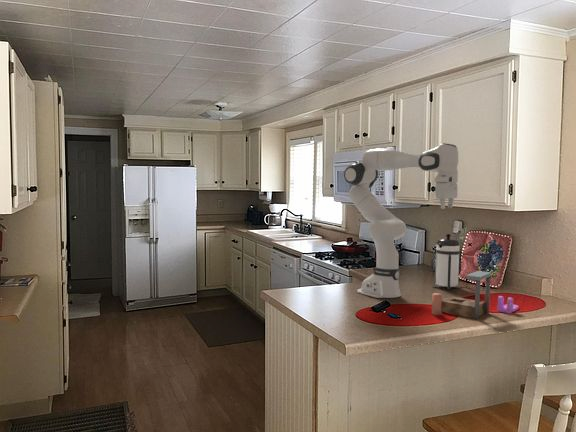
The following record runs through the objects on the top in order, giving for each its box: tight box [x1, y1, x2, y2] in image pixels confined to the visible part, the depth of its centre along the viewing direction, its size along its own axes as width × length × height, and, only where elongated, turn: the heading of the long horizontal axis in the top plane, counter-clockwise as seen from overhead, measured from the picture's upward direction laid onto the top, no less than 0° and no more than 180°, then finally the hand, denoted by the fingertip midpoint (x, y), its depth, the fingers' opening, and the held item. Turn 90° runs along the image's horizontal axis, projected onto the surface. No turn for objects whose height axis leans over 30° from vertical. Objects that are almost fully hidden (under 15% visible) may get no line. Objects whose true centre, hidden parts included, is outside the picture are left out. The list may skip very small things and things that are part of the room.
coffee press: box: [432, 233, 462, 291], centre depth 278 cm, size 17×16×30 cm
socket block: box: [441, 295, 485, 319], centre depth 227 cm, size 16×12×5 cm
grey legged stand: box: [465, 270, 492, 320], centre depth 222 cm, size 6×14×18 cm, turn 139°
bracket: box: [496, 295, 519, 314], centre depth 233 cm, size 13×6×7 cm, turn 136°
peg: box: [431, 292, 443, 316], centre depth 223 cm, size 4×4×9 cm
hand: (446, 208), depth 234 cm, fingers open, 8 cm apart
